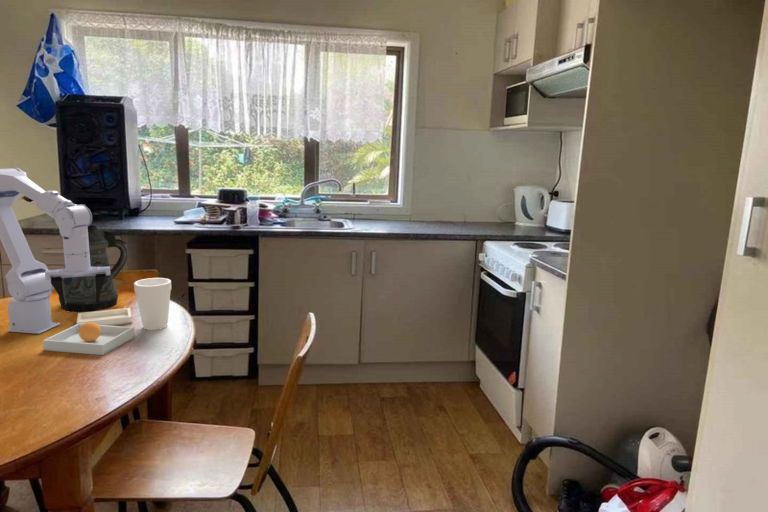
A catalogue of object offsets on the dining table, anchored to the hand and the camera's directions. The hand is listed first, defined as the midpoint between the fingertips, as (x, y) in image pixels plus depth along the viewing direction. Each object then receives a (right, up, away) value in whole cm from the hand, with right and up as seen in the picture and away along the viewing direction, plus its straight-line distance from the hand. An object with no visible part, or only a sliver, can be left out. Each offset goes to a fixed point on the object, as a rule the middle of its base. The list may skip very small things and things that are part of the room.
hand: (81, 303), depth 140 cm
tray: (+4, -10, -2) cm, 11 cm away
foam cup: (+15, -8, +11) cm, 20 cm away
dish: (-1, -6, +14) cm, 16 cm away
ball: (+4, -7, -3) cm, 8 cm away
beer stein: (-13, -3, +30) cm, 33 cm away
